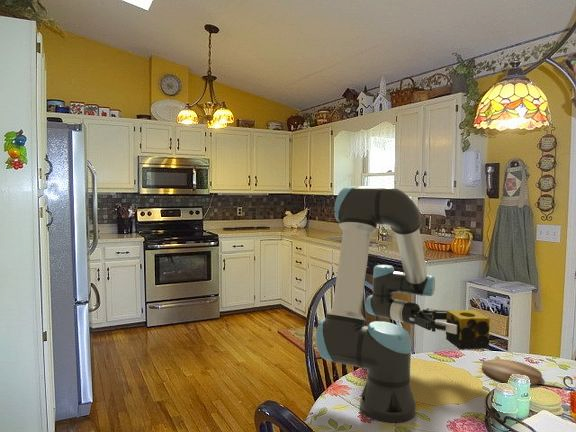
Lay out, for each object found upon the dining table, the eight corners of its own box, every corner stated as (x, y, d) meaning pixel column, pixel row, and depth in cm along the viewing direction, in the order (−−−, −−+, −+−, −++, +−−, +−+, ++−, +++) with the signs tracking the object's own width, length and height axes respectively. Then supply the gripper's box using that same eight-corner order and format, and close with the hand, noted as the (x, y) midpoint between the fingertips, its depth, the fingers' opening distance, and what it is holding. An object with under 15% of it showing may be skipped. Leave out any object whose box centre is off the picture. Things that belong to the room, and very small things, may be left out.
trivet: (533, 391, 132) (533, 386, 132) (473, 373, 145) (473, 369, 144) (548, 374, 145) (548, 369, 145) (492, 359, 158) (492, 355, 157)
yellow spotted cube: (473, 338, 144) (475, 309, 144) (490, 349, 134) (491, 318, 134) (444, 339, 143) (445, 309, 143) (459, 349, 133) (460, 318, 133)
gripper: (421, 315, 163) (479, 328, 148) (387, 329, 145) (448, 345, 130) (422, 296, 163) (479, 307, 148) (388, 308, 145) (449, 321, 130)
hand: (465, 325), depth 139 cm, fingers closed on yellow spotted cube, 13 cm apart
